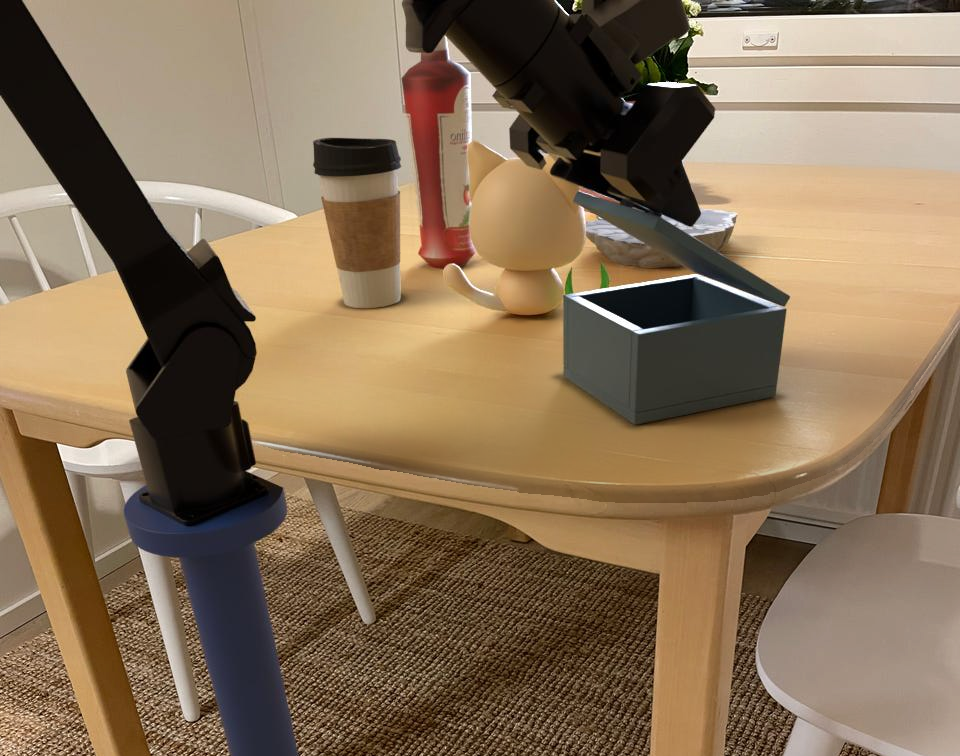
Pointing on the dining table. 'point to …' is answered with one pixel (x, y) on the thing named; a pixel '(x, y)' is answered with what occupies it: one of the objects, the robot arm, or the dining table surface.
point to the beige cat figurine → (521, 233)
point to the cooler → (672, 346)
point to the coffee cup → (362, 216)
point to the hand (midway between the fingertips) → (675, 214)
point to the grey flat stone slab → (631, 251)
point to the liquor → (440, 154)
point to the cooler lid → (679, 246)
